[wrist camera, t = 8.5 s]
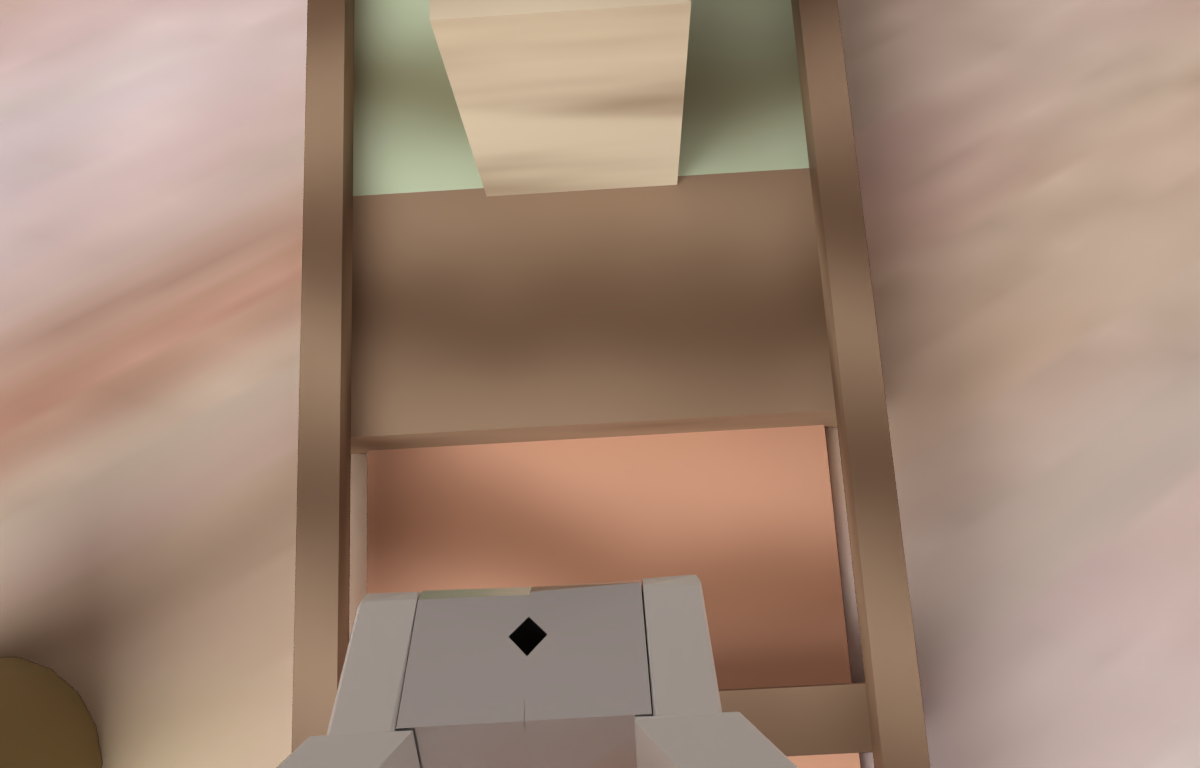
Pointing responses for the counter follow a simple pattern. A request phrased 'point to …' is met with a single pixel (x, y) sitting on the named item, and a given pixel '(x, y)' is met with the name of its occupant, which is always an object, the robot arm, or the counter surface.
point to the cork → (43, 720)
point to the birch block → (567, 90)
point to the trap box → (606, 370)
